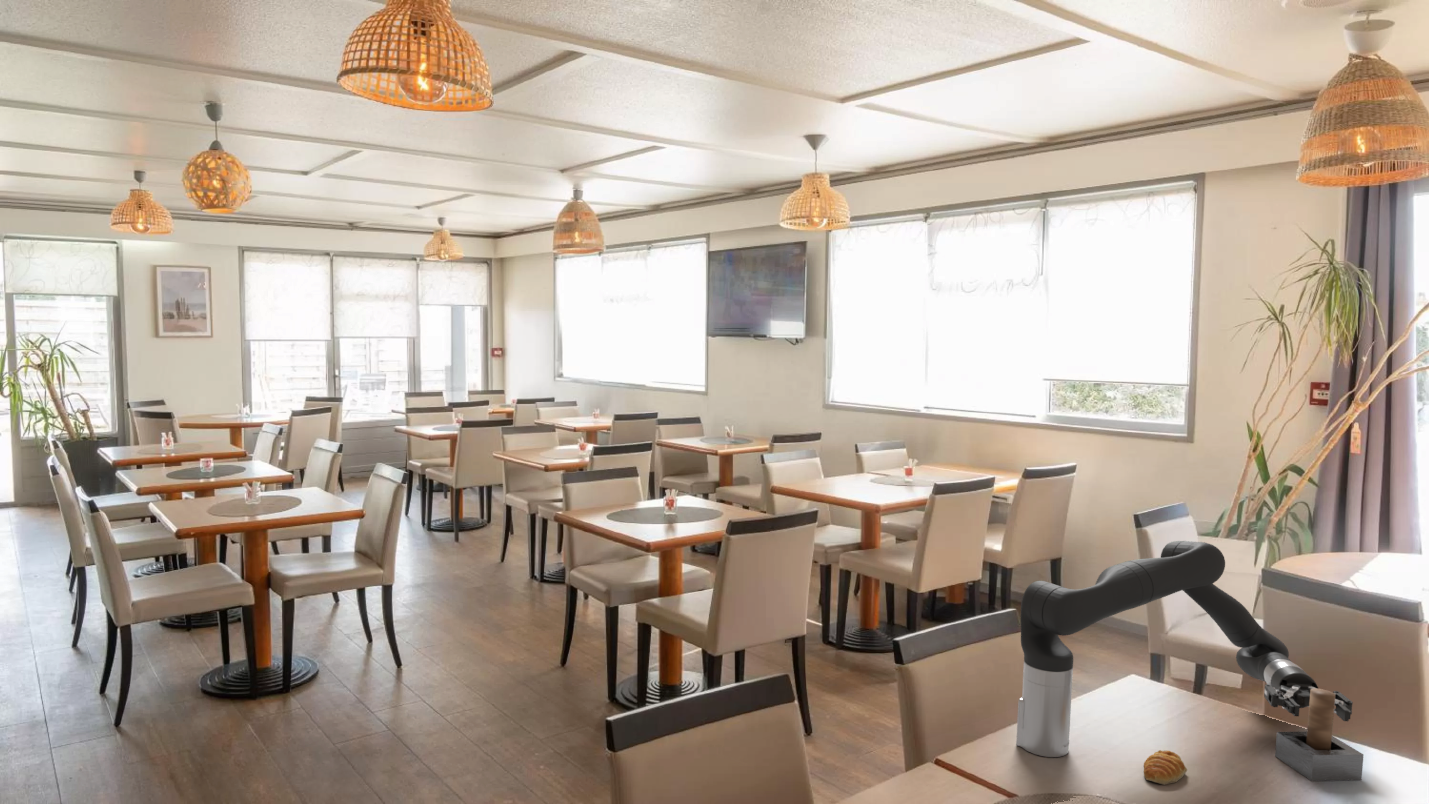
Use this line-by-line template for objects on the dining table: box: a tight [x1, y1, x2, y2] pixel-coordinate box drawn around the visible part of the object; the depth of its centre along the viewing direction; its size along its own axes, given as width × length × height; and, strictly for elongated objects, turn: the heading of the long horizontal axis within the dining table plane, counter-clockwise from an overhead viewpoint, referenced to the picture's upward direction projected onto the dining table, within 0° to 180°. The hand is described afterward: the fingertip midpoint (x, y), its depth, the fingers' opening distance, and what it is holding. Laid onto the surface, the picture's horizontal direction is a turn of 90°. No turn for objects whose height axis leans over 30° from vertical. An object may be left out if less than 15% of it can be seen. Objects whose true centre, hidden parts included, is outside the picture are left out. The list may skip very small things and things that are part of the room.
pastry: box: [1143, 749, 1188, 786], centre depth 173 cm, size 9×7×4 cm
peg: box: [1306, 688, 1335, 750], centre depth 177 cm, size 4×4×14 cm
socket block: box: [1274, 730, 1364, 782], centre depth 178 cm, size 10×10×5 cm
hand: (1322, 714), depth 177 cm, fingers open, 8 cm apart
